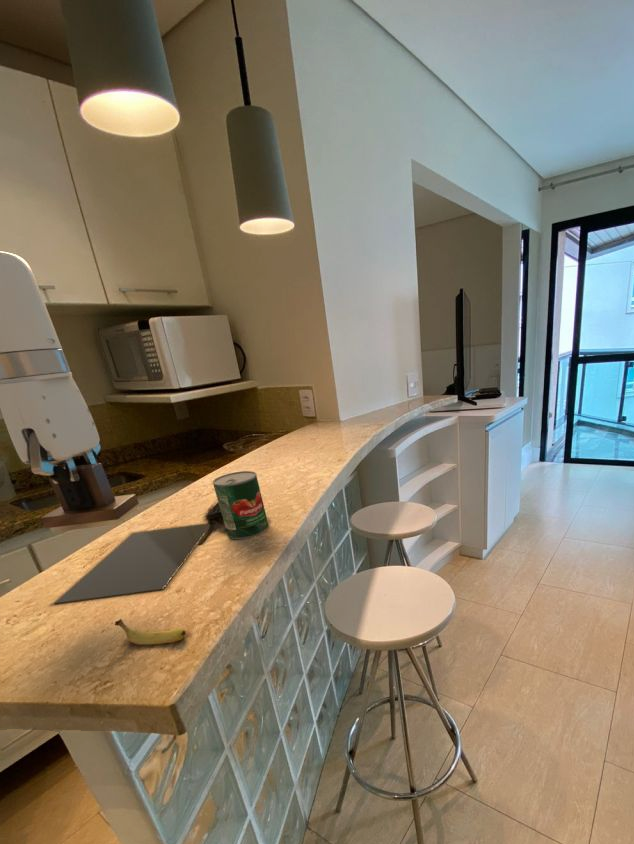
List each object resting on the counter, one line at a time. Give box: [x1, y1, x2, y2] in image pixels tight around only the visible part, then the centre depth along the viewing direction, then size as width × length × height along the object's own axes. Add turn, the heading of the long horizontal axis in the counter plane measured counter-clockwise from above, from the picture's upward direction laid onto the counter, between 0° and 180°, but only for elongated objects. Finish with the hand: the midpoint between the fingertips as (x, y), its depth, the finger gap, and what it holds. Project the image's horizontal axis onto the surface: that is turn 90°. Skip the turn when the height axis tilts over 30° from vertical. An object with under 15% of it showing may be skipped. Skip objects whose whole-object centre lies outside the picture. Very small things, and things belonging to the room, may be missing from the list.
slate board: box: [53, 522, 214, 605], centre depth 72 cm, size 16×24×1 cm, turn 4°
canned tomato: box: [212, 470, 270, 541], centre depth 78 cm, size 8×8×11 cm
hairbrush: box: [205, 498, 223, 521], centre depth 94 cm, size 8×4×25 cm
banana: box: [114, 618, 186, 646], centre depth 49 cm, size 8×2×4 cm, turn 87°
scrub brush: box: [40, 462, 140, 533], centre depth 58 cm, size 10×6×8 cm, turn 94°
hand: (88, 502), depth 58 cm, fingers closed on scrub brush, 2 cm apart
